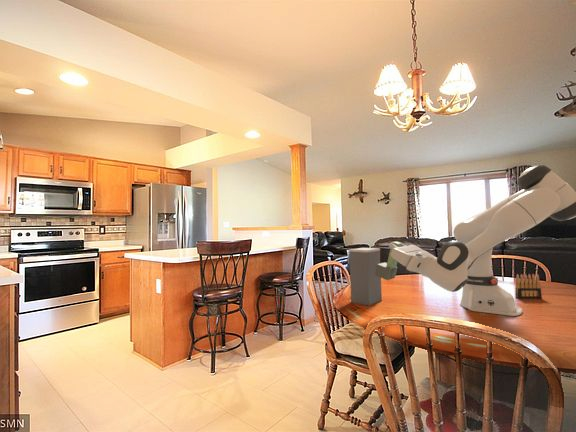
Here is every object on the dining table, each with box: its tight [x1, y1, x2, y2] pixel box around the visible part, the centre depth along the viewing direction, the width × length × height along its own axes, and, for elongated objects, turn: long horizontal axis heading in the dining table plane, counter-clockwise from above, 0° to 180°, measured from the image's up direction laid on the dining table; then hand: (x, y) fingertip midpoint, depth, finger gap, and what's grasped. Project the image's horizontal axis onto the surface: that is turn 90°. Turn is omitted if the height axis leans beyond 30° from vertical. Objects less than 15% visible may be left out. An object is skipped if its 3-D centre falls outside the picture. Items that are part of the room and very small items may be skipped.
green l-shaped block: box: [375, 240, 403, 281], centre depth 127 cm, size 16×7×6 cm
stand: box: [348, 247, 383, 307], centre depth 147 cm, size 10×12×26 cm
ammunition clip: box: [515, 273, 543, 300], centre depth 144 cm, size 11×2×12 cm, turn 82°
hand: (392, 243), depth 126 cm, fingers closed on green l-shaped block, 4 cm apart
